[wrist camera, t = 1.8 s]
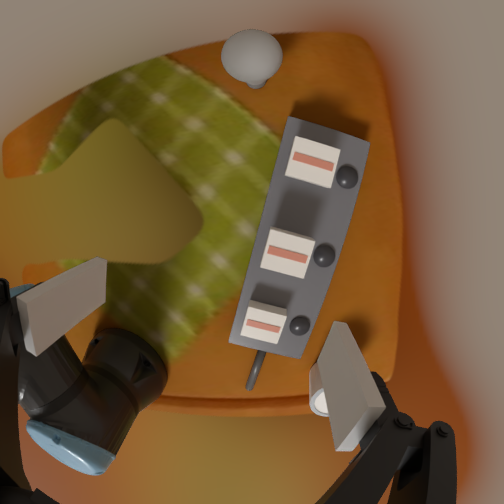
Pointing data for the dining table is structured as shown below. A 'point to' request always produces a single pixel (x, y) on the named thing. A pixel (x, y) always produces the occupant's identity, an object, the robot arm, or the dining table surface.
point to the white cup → (317, 392)
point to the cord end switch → (263, 322)
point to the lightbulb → (252, 57)
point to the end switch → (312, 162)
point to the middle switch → (287, 252)
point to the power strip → (308, 224)
